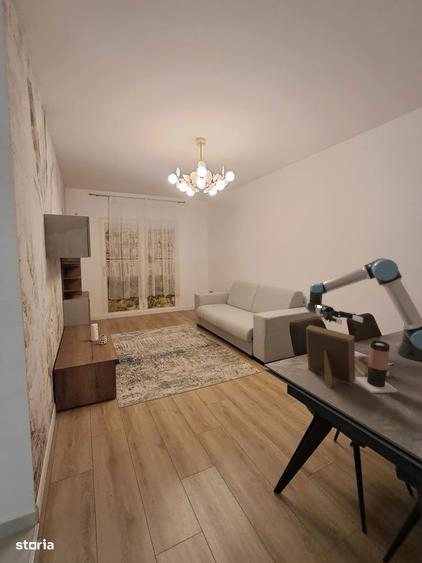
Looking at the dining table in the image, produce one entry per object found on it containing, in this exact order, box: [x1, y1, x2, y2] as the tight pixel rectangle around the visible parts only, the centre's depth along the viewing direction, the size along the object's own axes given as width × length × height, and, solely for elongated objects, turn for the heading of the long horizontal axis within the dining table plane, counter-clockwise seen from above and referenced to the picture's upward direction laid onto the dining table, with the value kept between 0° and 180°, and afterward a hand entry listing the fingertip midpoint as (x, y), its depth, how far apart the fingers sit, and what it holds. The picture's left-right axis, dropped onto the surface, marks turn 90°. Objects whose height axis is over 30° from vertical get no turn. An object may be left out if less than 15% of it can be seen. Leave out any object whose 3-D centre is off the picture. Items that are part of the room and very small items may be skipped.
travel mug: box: [366, 340, 391, 387], centre depth 121 cm, size 8×8×20 cm
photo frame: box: [305, 324, 356, 389], centre depth 126 cm, size 15×22×25 cm
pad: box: [355, 376, 398, 394], centre depth 122 cm, size 12×12×1 cm
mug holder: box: [355, 355, 391, 377], centre depth 137 cm, size 13×13×5 cm
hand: (352, 321), depth 137 cm, fingers open, 13 cm apart
